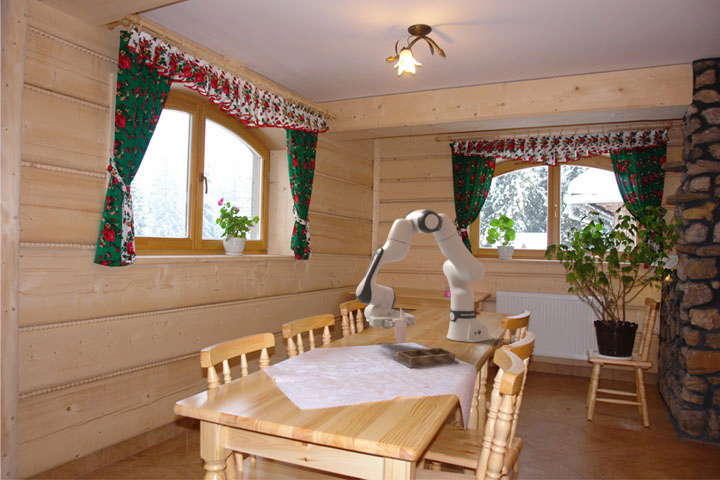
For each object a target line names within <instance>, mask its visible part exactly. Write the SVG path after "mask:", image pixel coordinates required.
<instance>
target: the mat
mask: <svg viewBox="0 0 720 480" xmlns="http://www.w3.org/2000/svg"><path fill="white" fill-rule="evenodd" d="M393 361H395V362H397V363H399V364H400V365H402V366H405V367H406V368H408V369H416V368H417V369H418V368H425V367H427V368H428V367H434V366H435V367H436V365H438V366H444V365H443V364H447V365H454V364H453V363H456V364H460V362H459V361H458V360H455V361H454V362H444V363H435V364H425V365H415V366H410V365H408V364H406V363H404V362H402V361H400V360H398V359H397V357H396V358H395V357H394V358H393Z"/></svg>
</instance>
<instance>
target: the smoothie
mask: <svg viewBox="0 0 720 480" xmlns="http://www.w3.org/2000/svg"><path fill="white" fill-rule="evenodd" d="M399 310H400V318H397V319H392V321H393V322H394V323H395V324H394V325H395V326H394V327H393V329H394V330H393V331H394V337H395V343H396V344H404V343H406V336H407V335H406V334H407V327H408V326H407V319H406V318H402V308H399Z"/></svg>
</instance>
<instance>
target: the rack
mask: <svg viewBox="0 0 720 480" xmlns="http://www.w3.org/2000/svg"><path fill="white" fill-rule="evenodd" d="M396 354H397V355H396V358H397V359H398V360H400V361H402V362H404V363H406V364H408V365H410V366H415V365H425V364H435V363H444V362H454V361H456V353H455V352H451V351H450V350H447V349H444V348H443V347H442V348H441V347H434V348H433V347H431V348H424V349H422V348H421V349H412V350H402V351H401V350H400V351H397V353H396Z"/></svg>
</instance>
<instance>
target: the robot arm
mask: <svg viewBox="0 0 720 480" xmlns="http://www.w3.org/2000/svg"><path fill="white" fill-rule="evenodd" d="M416 234H432V236H433V238H434V240H435V242H436V244H437V246H438V247H439V250H440V251H441V254H442V255H443V256H444V257H445V258H446V260H445V261H444V263H443V265H442V272H443V274H444V276H445V277H446V279H447V282H448V286H449V291H450V308H449V327H448V331H447V334H446V338H447V339H448V340H452V341H457V342H466V343H467V342H468V343H479V342H483V341H489V340H493V339H494V338H493V336H492V335H489V330H488V327H487V325H486V324H485V323H484V322H483V321H481V320H480V319H479V318H478V316H481V314H482V311H481V310H475V293H474V291H473V290H472V289H471V286H470V283H475V282H479V281H481V280H482V279H483V278H484V276H485V274H486V269H485V265H484V264H483V263H482V262H481V261H480V260H478V259H477V258H476V257H475V256H474V255H473V253H471V252H470V250H469V249H468V248H467V246H466V245H465V243H464V242H463V240H462V238H461V236H460V234H459V232H458V230H457V227H456V226H455V224H454V222H453V221H452V219H451V218H450V217H449V216H448V214H446V213H437V212H435V211H434V210H432V209H417V210H416V209H415V210H411V211H410V212H408V213H407V214H406V215H405V216H404V217H403V218H398V219H395V220H394V221H393V224H392V225H391V228H390V230H389V233H388V236H387V239H386V242H385V243H384V245H383V246H382V247H381V248H377V250H376V251H375V253H374V254H373V256H372V258H371V260H370V262H369V264H368V266H367V268H366V271H365V273H364V274H363V277H362V279H361V280H360V282H359V284H358V285H357V287H356V289H355V297H356V299H357V300H358V302H359V303H361V304H365V305H367V306H366V307H365V308H364V310H363V311H364V317H365V321H366V322H368V323H369V325H370V326H371V327H373V328H382V329H384V330H389V329H391V328H394V326H395V325H394V324H395V323H394V322H393V321H392V319H397V318H400V309H394V308H395V305H396V300H397V296H396V293H395V290H394V288H392V287H390V286H385V285H381V284H377V283H375V282H374V281H375V279H376V276H377V274H378V272H379V270H380V269H381V267H382V265H385V264H387V263H393V262H399V261H402V260H403V259H405V258H406V257H407V255H408V254H409V253H410V248H411V244H412V241H413V240H412V239H413V238H414V236H415V235H416ZM401 310H402V309H401ZM402 318H406V319H407V326H406V327H408V326H414V325H416V316H415V315H413V314H410V313H408V312H405V310H402Z"/></svg>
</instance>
